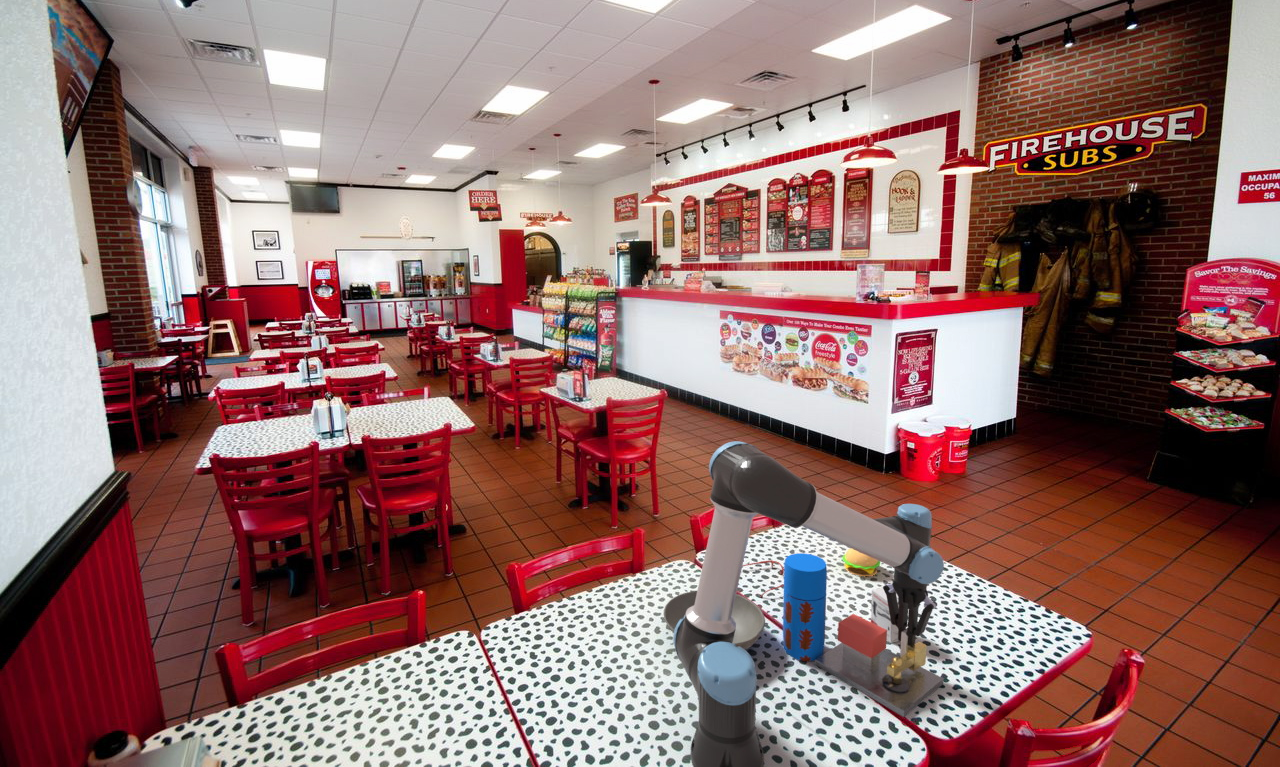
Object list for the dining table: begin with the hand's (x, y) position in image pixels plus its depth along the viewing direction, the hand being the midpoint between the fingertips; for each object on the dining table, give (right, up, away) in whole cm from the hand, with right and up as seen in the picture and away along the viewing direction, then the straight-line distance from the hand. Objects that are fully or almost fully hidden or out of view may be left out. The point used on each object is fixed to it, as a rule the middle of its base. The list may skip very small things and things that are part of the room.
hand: (905, 654), depth 148 cm
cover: (-11, +2, +1) cm, 11 cm away
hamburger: (+8, +4, +52) cm, 53 cm away
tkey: (-2, -3, -4) cm, 5 cm away
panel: (-7, -5, 0) cm, 9 cm away
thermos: (-23, -3, +10) cm, 25 cm away
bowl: (-46, -3, +15) cm, 49 cm away
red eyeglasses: (-26, +2, +45) cm, 52 cm away
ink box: (+2, -2, +17) cm, 17 cm away
